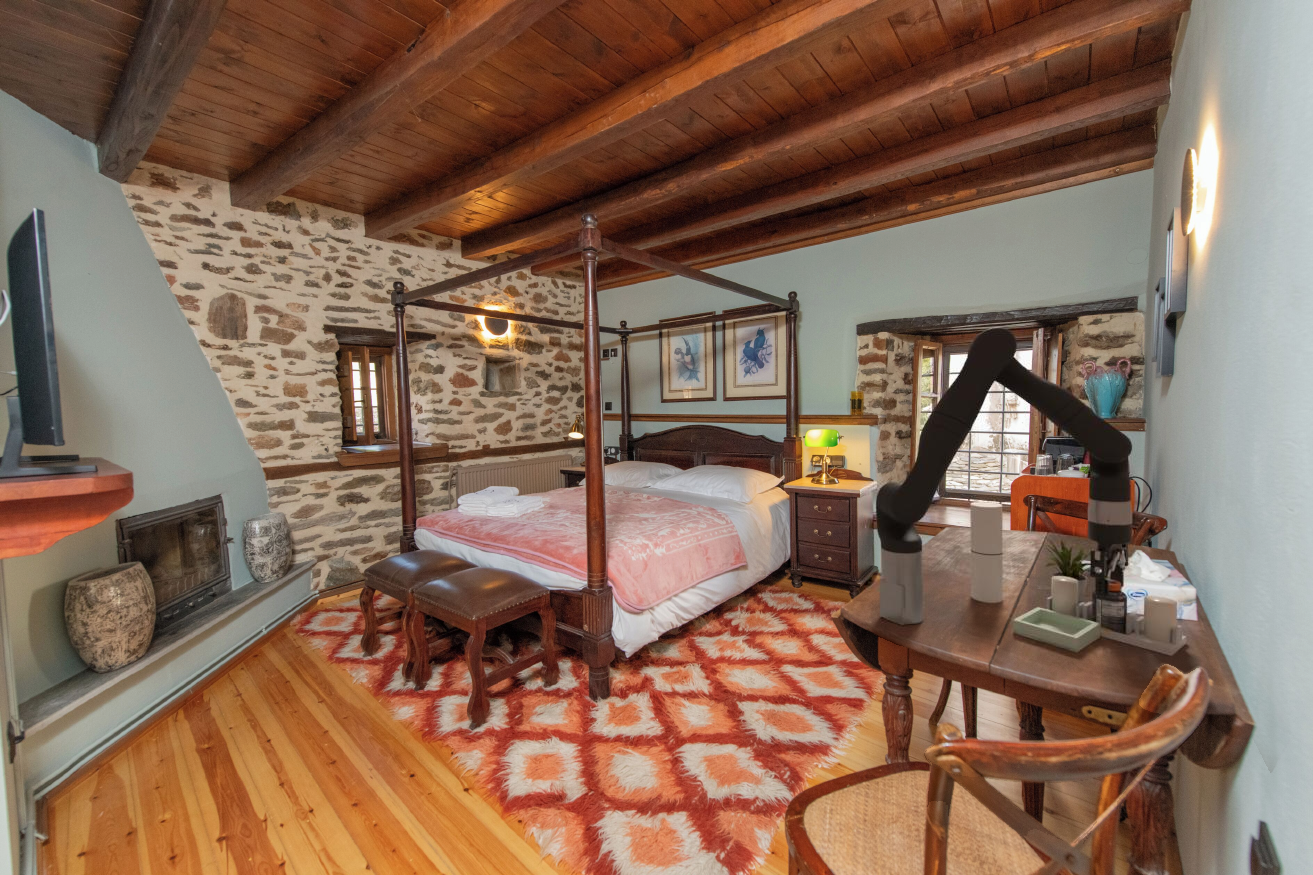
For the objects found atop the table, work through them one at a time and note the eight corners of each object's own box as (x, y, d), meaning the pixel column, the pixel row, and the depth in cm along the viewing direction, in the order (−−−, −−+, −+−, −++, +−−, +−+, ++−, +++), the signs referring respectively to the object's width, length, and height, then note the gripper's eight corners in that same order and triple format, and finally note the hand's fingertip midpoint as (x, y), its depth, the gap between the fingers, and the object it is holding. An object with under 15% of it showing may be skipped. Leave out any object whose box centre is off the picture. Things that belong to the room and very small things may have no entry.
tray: (1076, 652, 111) (1076, 638, 111) (1013, 632, 121) (1013, 619, 121) (1100, 636, 117) (1100, 623, 117) (1037, 619, 127) (1037, 606, 127)
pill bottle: (1099, 623, 124) (1100, 575, 123) (1132, 632, 119) (1132, 582, 118) (1086, 629, 121) (1087, 580, 120) (1119, 638, 116) (1119, 587, 115)
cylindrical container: (971, 600, 140) (971, 506, 139) (970, 591, 147) (969, 501, 145) (1004, 604, 137) (1003, 507, 135) (1001, 594, 143) (1000, 502, 142)
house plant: (1017, 594, 143) (1017, 534, 142) (1052, 585, 148) (1052, 527, 147) (1075, 612, 130) (1075, 546, 129) (1111, 602, 135) (1112, 539, 134)
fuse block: (1171, 655, 108) (1172, 609, 107) (1041, 619, 127) (1041, 580, 126) (1186, 643, 112) (1186, 599, 112) (1058, 610, 132) (1058, 572, 131)
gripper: (1119, 527, 111) (1119, 603, 112) (1143, 516, 119) (1142, 587, 120) (1075, 522, 118) (1076, 594, 119) (1101, 511, 125) (1101, 579, 126)
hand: (1109, 590), depth 119 cm, fingers open, 8 cm apart
